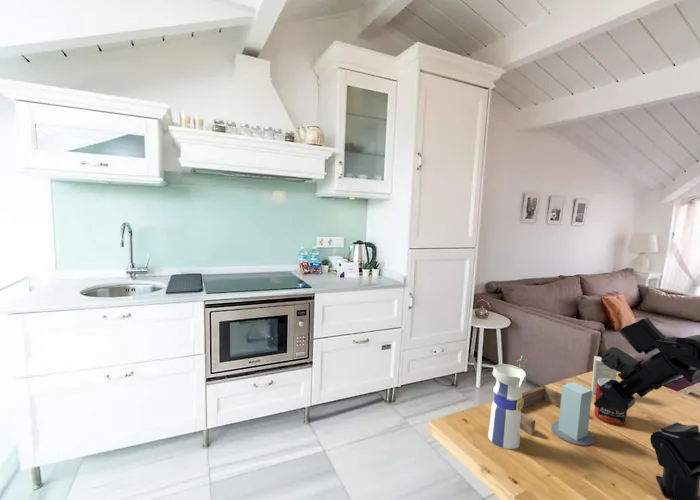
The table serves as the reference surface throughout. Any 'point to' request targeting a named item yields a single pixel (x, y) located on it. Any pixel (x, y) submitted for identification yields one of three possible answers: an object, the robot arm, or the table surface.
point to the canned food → (608, 409)
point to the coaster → (582, 442)
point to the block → (575, 410)
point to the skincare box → (600, 372)
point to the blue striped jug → (507, 405)
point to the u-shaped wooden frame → (533, 397)
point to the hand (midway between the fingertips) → (604, 398)
